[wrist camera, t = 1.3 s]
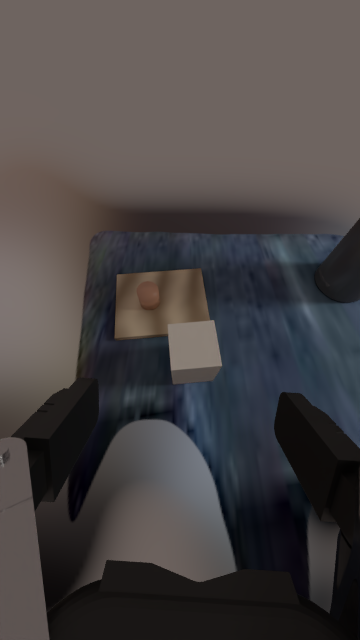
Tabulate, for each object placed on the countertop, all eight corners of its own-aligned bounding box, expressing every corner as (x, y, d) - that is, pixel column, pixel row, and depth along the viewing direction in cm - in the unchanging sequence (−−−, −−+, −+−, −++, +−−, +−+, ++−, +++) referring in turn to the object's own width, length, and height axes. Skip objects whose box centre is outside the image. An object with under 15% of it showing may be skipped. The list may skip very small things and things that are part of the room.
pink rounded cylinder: (159, 292, 42) (157, 280, 38) (160, 309, 40) (159, 298, 37) (139, 293, 41) (136, 282, 38) (139, 311, 40) (136, 300, 37)
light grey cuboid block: (207, 343, 38) (213, 320, 31) (212, 380, 35) (222, 365, 28) (170, 346, 38) (167, 324, 30) (172, 384, 35) (171, 370, 28)
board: (200, 271, 45) (200, 268, 44) (210, 332, 39) (211, 329, 38) (118, 277, 44) (117, 274, 43) (116, 340, 38) (114, 338, 37)
